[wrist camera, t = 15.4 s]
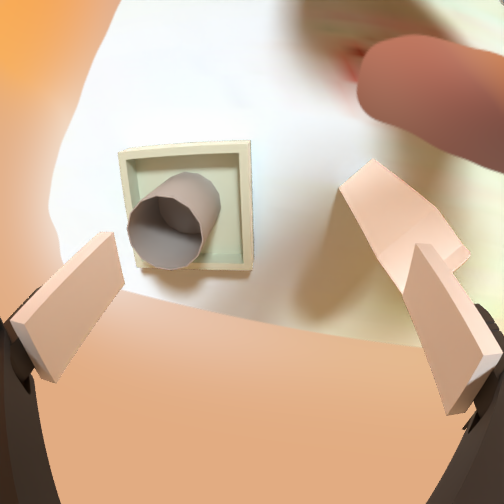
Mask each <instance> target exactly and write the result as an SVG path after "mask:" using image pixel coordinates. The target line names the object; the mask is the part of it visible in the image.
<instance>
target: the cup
mask: <svg viewBox="0 0 504 504" xmlns="http://www.w3.org/2000/svg"><path fill="white" fill-rule="evenodd" d="M220 210H221V203H220V195H219V192H218V191H217V189H216V188H215V186H214V185H213V183H212V182H211V181H210V180H208V179H207V178H205V177H204V176H202V175H200V174H199V173H191V172H182V173H179V174H177V175H174V176H171V177H170V178H168V179H167V180H166V181H165V182H163V183H162V184H161V185H159V186H158V187H157V188H156V189H154V190H153V191H152V192H150V193H149V194H148V195H147V196H145V197H144V198H143V199H142V200H140V201H139V203H138V204H137V205H136V206H135V207H134V209H133V210H132V211H131V212H130V215H129V220H128V225H127V232H128V236H129V240H130V243H131V246H132V247H133V248H134V250H135V251H136V253H137V254H138V255H139V257H140V258H141V259H142V260H144V261H146V262H147V263H149V264H150V265H152V266H154V267H155V268H160V269H166V270H176V269H180V268H183V267H187V266H188V265H189V264H190V263H191V262H193V261H194V260H195V259H196V258H197V257H198V256H199V254H200V252H201V250H202V248H203V246H204V244H205V242H206V240H207V238H208V236H209V234H210V233H211V231H212V229H213V227H214V225H215V223H216V221H217V218H218V215H219V213H220Z"/></svg>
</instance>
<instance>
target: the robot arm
mask: <svg viewBox="0 0 504 504" xmlns="http://www.w3.org/2000/svg"><path fill="white" fill-rule="evenodd" d="M499 1H500V2H501V3H502V5H503V6H504V0H499ZM124 284H125V282H124V278H123V274H122V269H121V265H120V261H119V256H118V252H117V247H116V242H115V237H114V232H99V233H98V234H97V235H96V236H95V237H94V238H93V239H91V240H90V241H89V242H88V243H87V244H86V245H85V246H84V247H83V248H81V249H80V250H79V251H78V252H77V253H76V254H75V255H74V256H73V257H72V258H71V259H70V260H69V261H67V262H66V263H65V264H64V265H63V266H62V267H61V268H60V269H59V270H58V271H57V272H56V273H55V274H54V275H53V276H52V277H51V278H50V279H49V280H48V281H47V282H46V283H45V284H44V285H42V286H41V287H39V288H38V289H36V290H35V291H34V292H33V293H32V294H31V295H30V296H29V298H28V299H26V300H25V301H24V302H23V305H21V306H20V307H19V308H18V309H17V310H16V311H15V312H14V313H13V314H12V315H11V316H10V317H9V318H8V320H7V321H6V322H5V323H4V324H3V322H2V320H1V318H0V504H61V503H60V500H59V497H58V494H57V490H56V487H55V483H54V480H53V476H52V473H51V469H50V465H49V461H48V457H47V453H46V448H45V444H44V439H43V434H42V429H41V424H40V418H39V412H38V406H37V399H36V392H35V384H34V379H33V377H32V375H31V372H32V370H33V369H34V368H35V369H36V371H37V372H38V374H39V375H40V377H41V379H44V380H47V381H50V382H53V383H57V381H58V379H59V378H60V376H61V375H62V373H63V372H64V370H65V369H66V367H67V365H68V364H69V363H70V361H71V359H72V358H73V357H74V355H75V354H76V352H77V351H78V349H79V347H80V346H81V345H82V343H83V342H84V340H85V339H86V337H87V336H88V334H89V333H90V332H91V330H92V329H93V327H94V326H95V324H96V323H97V322H98V320H99V319H100V317H101V316H102V314H103V313H104V312H105V310H106V309H107V307H108V306H109V305H110V303H111V302H112V301H113V299H114V298H115V297H116V295H117V294H118V292H119V291H120V290H121V288H122V287H123V286H124ZM402 298H403V300H404V303H405V305H406V307H407V310H408V312H409V314H410V317H411V319H412V321H413V324H414V326H415V329H416V331H417V334H418V336H419V339H420V341H421V344H422V346H423V349H424V352H425V354H426V357H427V360H428V362H429V365H430V368H431V371H432V373H433V376H434V379H435V382H436V385H437V388H438V390H439V394H440V397H441V399H442V402H443V406H444V409H445V412H446V415H447V416H448V415H454V414H459V413H465V412H466V411H467V409H468V408H469V407H470V405H471V404H472V402H473V401H474V404H475V407H476V409H477V410H476V411H475V413H474V414H473V415H472V417H471V418H470V419H469V421H468V422H467V423H466V425H465V426H464V427H463V430H465V429H466V428H467V429H466V431H465V433H464V435H463V437H462V440H461V442H460V444H459V446H458V448H457V450H456V452H455V454H454V456H453V458H452V460H451V462H450V463H449V465H448V467H447V469H446V471H445V473H444V474H443V476H442V478H441V480H440V481H439V483H438V485H437V486H436V488H435V490H434V492H433V493H432V495H431V496H430V498H429V500H428V501H427V503H426V504H504V336H503V334H502V332H501V331H499V328H498V326H497V324H496V323H494V322H495V321H494V320H493V318H492V317H491V315H490V314H489V312H488V311H487V310H486V309H484V308H483V307H482V306H481V305H480V304H473V302H472V301H471V299H470V298H469V296H468V295H467V293H466V292H465V290H464V289H463V287H462V286H461V284H460V283H459V282H458V280H457V279H456V277H455V276H454V274H453V273H452V272H451V270H450V269H449V267H448V266H447V265H446V263H445V262H444V261H443V259H442V258H441V257H440V255H439V254H438V253H437V251H436V250H435V249H434V247H433V246H432V245H431V244H424V243H415V247H414V252H413V256H412V260H411V265H410V269H409V273H408V277H407V281H406V285H405V288H404V292H403V296H402Z"/></svg>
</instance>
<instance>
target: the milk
mask: <svg viewBox="0 0 504 504" xmlns="http://www.w3.org/2000/svg"><path fill="white" fill-rule="evenodd" d="M339 190H340V192H341V193H342V195H343V197H344V199H345V200H346V202H347V204H348V206H349V207H350V209H351V211H352V213H353V215H354V216H355V218H356V220H357V222H358V224H359V226H360V227H361V229H362V231H363V233H364V235H365V237H366V239H367V241H368V242H369V244H370V246H371V248H372V250H373V252H374V254H375V256H376V258H377V259H378V261H379V262H380V264H381V265H382V266H383V268H384V269H385V271H386V272H387V273H388V275H389V276H390V278H391V279H392V280H393V282H394V283H395V285H396V286H397V288H398V289H399V291H400V292H401V293H402V295H403V292H404V288H405V285H406V281H407V277H408V273H409V269H410V265H411V260H412V256H413V252H414V247H415V243H424V244H431V245H432V246H433V247H434V249H435V250H436V251H437V253H438V254H439V255H440V257H441V258H442V259H443V261H444V262H445V263H446V265H447V266H448V267H449V269H450V270H451V272H452V273H453V272H454V271H455V270H457V269H458V268H459V267H460V266H461V265H463V264H464V263H465V262H466V261H467V259H469V258H470V255H471V253H470V251H469V250H468V249H467V248H466V247H465V246H464V245H463V244H462V242H461V241H460V239H459V238H458V237H457V235H456V234H455V232H454V231H453V229H452V228H451V226H450V225H449V224H448V222H447V221H446V219H445V218H444V217H443V215H442V214H441V213H440V211H439V210H438V209H437V208H436V207H435V206H434V205H433V204H432V203H430V202H429V201H428V200H427V199H426V198H424V197H423V196H422V195H421V194H419V193H418V192H417V191H416V190H414V189H413V188H412V187H411V186H409V185H408V184H407V183H406V182H404V181H403V180H402V179H400V178H399V177H398V176H396V175H395V174H394V173H393V172H391V171H390V170H389V169H387V168H386V167H384V166H383V165H382V164H380V163H379V162H378V161H376V160H375V159H371V160H370V161H369V162H368V163H367V164H366V165H364V166H363V167H362V168H361V169H360V170H359V171H357V172H356V173H355V174H354V175H353V176H352V177H350V178H349V179H348V180H347V181H346V182H345V183H343V184H342V185H341V186H340V187H339Z"/></svg>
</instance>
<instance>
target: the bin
mask: <svg viewBox="0 0 504 504" xmlns="http://www.w3.org/2000/svg"><path fill="white" fill-rule="evenodd" d="M118 158H119V166H120V174H121V181H122V188H123V195H124V201H125V207H126V213H127V219H128V220H129V215H130V212H131V211H132V210H133V209H134V207H135V206H136V205H137V204H138V203H139V201H140V200H142V199H143V198H144V197H145V196H147V195H148V194H149V193H150V192H152V191H153V190H154V189H156V188H157V187H158V186H159V185H161V184H162V183H163V182H165V181H166V180H167V179H168V178H170V177H171V176H174V175H177V174H179V173H182V172H191V173H199V174H200V175H202V176H204V177H205V178H207V179H208V180H210V181H211V182H212V183H213V185H214V186H215V188H216V189H217V191H218V192H219V195H220V203H221V210H220V213H219V215H218V218H217V221H216V223H215V225H214V227H213V229H212V231H211V233H210V234H209V236H208V238H207V240H206V242H205V244H204V246H203V248H202V250H201V252H200V254H199V256H198V257H197V258H196V259H195V260H194V261H193V262H191V263H190V264H189V265H188V266H187V267H183V268H180V269H199V270H239V271H252V267H253V262H254V236H253V202H252V169H251V140H232V141H208V142H190V143H176V144H164V145H152V146H142V147H133V148H128V149H126V150H123V151H121V152H118ZM133 251H134V256H135V261H136V266H137V268H155V267H154V266H152V265H150V264H149V263H147V262H146V261H144V260H142V259H141V258H140V257H139V255H138V254H137V253H136V251H135V250H134V248H133Z"/></svg>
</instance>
